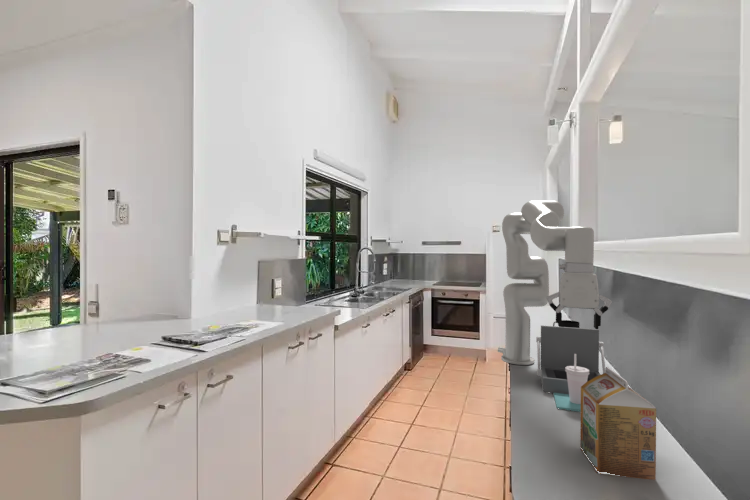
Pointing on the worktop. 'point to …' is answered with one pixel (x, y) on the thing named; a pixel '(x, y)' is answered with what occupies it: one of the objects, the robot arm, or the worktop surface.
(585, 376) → the smoothie
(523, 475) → the worktop surface
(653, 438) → the milk carton
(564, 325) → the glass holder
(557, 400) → the mat
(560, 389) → the case
